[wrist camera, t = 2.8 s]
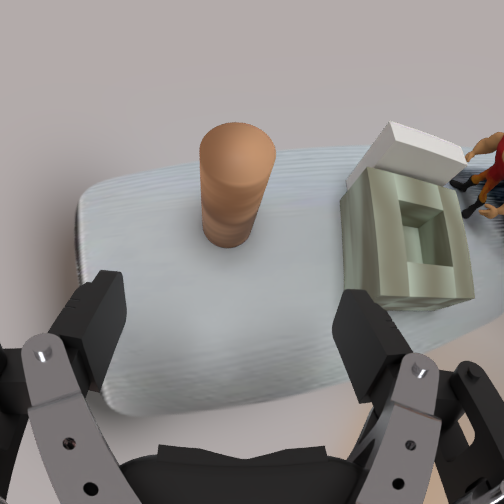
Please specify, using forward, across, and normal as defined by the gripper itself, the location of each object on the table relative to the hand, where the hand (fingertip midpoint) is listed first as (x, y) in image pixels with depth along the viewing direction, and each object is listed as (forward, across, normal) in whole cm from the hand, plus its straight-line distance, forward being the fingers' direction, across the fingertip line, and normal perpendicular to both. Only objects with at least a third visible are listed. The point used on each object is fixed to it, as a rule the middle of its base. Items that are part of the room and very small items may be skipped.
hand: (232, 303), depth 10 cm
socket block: (+14, -15, +4) cm, 21 cm away
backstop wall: (+18, -15, -1) cm, 23 cm away
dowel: (+14, 0, +3) cm, 15 cm away
